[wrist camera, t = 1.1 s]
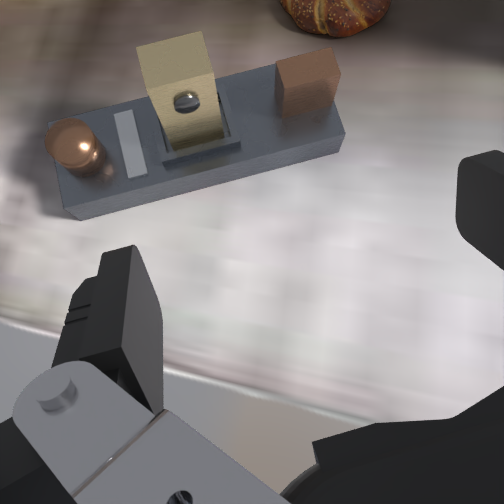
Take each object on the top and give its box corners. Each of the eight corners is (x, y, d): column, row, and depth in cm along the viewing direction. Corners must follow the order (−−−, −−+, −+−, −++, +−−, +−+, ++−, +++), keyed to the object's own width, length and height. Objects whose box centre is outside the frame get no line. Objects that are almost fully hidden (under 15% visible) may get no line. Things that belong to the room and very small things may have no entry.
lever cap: (215, 105, 38) (201, 30, 29) (225, 141, 37) (214, 76, 28) (165, 118, 37) (135, 47, 29) (174, 154, 37) (147, 93, 28)
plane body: (312, 77, 42) (324, 15, 34) (338, 152, 40) (356, 105, 32) (65, 141, 41) (19, 93, 33) (80, 220, 39) (36, 189, 32)
